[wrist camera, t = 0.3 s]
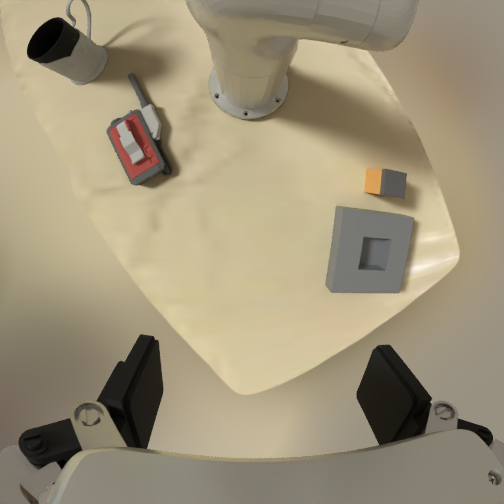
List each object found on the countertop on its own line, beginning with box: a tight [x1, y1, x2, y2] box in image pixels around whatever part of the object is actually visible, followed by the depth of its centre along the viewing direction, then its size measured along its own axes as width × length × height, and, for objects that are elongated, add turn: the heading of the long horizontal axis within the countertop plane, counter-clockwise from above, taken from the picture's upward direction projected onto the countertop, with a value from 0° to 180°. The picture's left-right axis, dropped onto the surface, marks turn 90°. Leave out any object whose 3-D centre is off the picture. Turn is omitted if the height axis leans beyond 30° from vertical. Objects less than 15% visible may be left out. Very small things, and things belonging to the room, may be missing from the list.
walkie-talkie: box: [107, 73, 172, 185], centre depth 38 cm, size 9×4×20 cm
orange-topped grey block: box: [364, 169, 407, 199], centre depth 41 cm, size 4×4×7 cm
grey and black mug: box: [27, 0, 107, 85], centre depth 28 cm, size 9×14×15 cm, turn 165°
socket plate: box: [325, 206, 414, 293], centre depth 45 cm, size 14×14×4 cm
